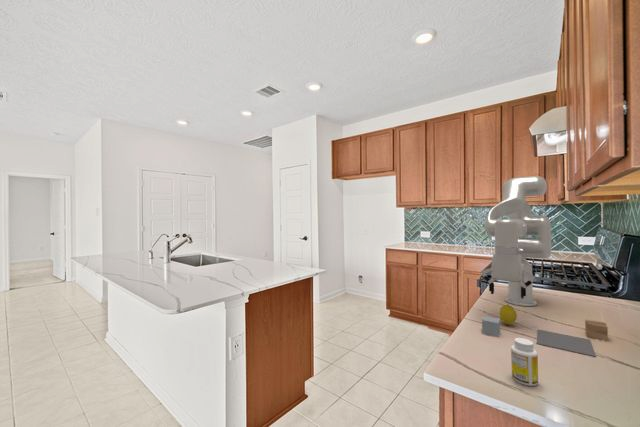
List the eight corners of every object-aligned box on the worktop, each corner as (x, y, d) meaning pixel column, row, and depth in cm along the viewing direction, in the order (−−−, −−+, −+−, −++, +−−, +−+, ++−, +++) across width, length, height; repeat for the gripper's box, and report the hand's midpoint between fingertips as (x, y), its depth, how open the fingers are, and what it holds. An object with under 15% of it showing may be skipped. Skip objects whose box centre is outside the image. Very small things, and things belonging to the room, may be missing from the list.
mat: (537, 330, 102) (537, 329, 102) (590, 340, 93) (590, 339, 93) (536, 344, 91) (536, 343, 91) (596, 357, 82) (596, 356, 82)
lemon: (519, 328, 104) (519, 307, 104) (503, 327, 105) (502, 306, 105) (512, 322, 109) (512, 302, 109) (497, 321, 110) (496, 301, 110)
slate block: (484, 329, 104) (484, 315, 104) (500, 332, 101) (500, 319, 101) (482, 333, 100) (482, 319, 100) (498, 337, 97) (498, 323, 97)
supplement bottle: (532, 376, 73) (531, 337, 74) (542, 388, 68) (541, 347, 68) (508, 372, 75) (507, 335, 75) (516, 385, 70) (515, 344, 70)
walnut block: (585, 332, 99) (585, 319, 99) (605, 336, 96) (605, 322, 96) (587, 337, 95) (586, 323, 96) (607, 341, 92) (607, 327, 92)
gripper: (534, 252, 105) (535, 297, 104) (482, 249, 115) (483, 290, 115) (534, 253, 99) (535, 301, 98) (479, 250, 110) (479, 293, 109)
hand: (507, 295), depth 107 cm, fingers open, 9 cm apart
